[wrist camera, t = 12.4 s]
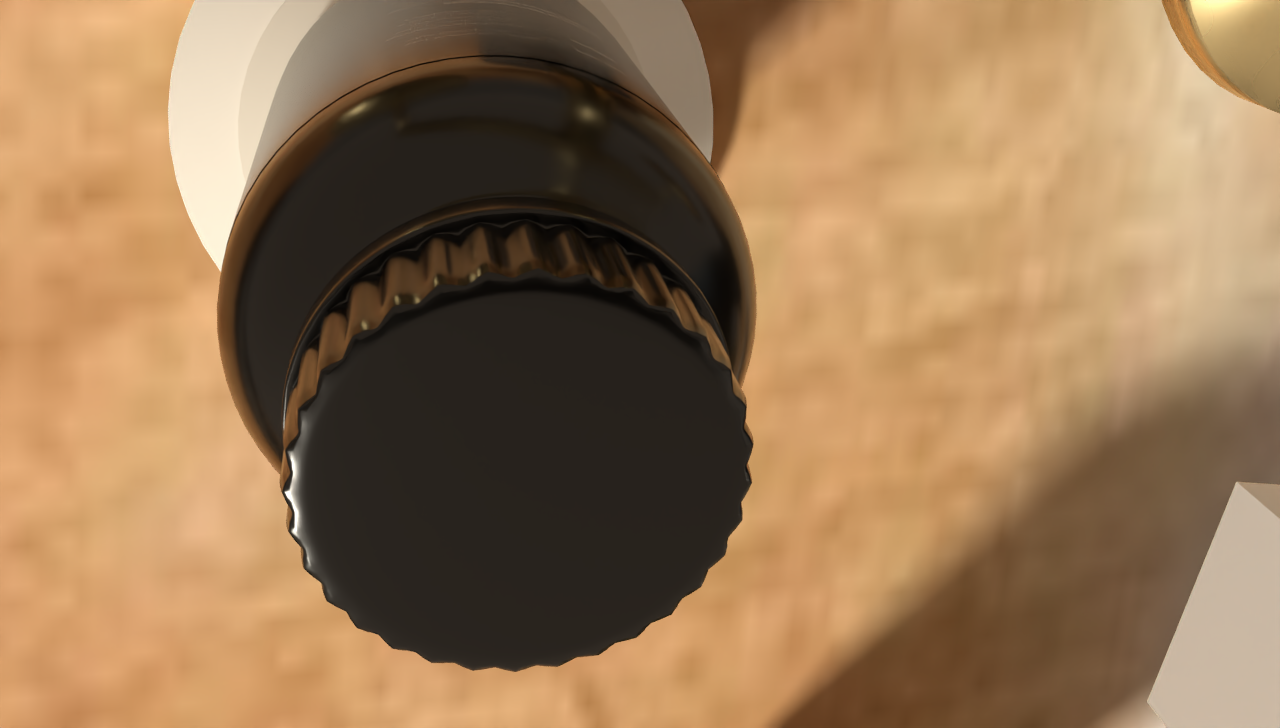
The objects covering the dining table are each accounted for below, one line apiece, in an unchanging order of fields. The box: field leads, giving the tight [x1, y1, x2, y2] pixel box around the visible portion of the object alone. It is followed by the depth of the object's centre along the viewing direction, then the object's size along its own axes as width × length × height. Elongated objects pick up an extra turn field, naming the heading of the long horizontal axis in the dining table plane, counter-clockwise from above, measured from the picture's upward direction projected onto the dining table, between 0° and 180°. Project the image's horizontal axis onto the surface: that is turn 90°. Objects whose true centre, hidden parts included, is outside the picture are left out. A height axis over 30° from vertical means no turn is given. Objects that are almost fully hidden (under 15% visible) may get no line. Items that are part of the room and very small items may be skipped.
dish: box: [168, 0, 713, 271], centre depth 23 cm, size 10×10×1 cm
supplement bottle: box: [217, 0, 756, 672], centre depth 17 cm, size 7×7×12 cm
